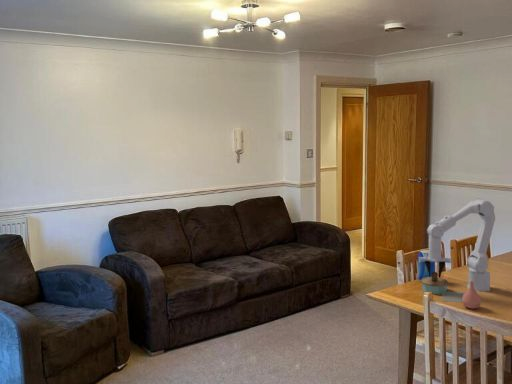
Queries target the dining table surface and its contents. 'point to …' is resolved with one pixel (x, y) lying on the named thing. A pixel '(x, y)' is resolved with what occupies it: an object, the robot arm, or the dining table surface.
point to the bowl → (434, 289)
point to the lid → (434, 280)
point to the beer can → (424, 266)
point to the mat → (453, 296)
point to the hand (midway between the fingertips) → (434, 276)
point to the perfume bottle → (471, 298)
